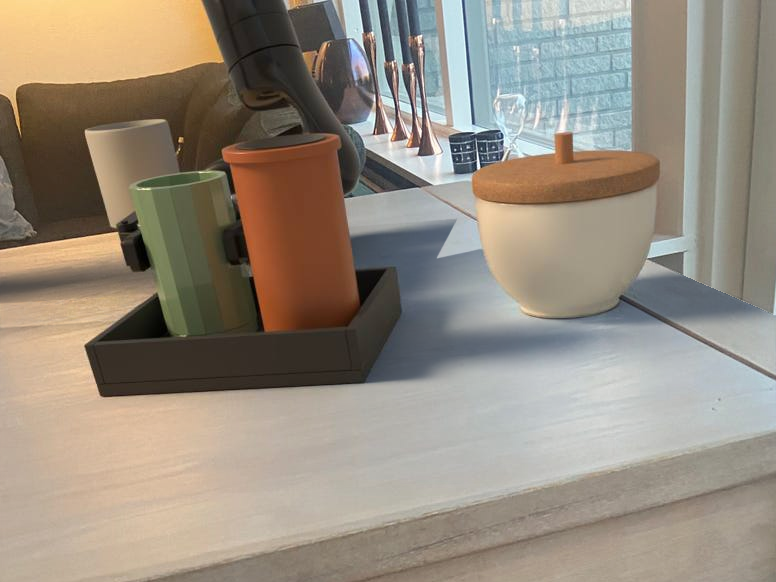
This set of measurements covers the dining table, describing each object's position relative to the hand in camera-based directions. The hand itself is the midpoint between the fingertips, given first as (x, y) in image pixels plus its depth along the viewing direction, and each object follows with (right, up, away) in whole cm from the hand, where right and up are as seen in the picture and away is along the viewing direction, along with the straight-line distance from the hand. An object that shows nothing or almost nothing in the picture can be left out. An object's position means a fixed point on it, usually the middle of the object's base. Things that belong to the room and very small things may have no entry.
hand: (182, 252), depth 62 cm
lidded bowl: (+26, -1, +7) cm, 27 cm away
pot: (+9, -6, +1) cm, 10 cm away
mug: (-16, +19, +44) cm, 50 cm away
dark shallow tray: (+5, -5, +4) cm, 8 cm away
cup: (+1, -4, +5) cm, 6 cm away
